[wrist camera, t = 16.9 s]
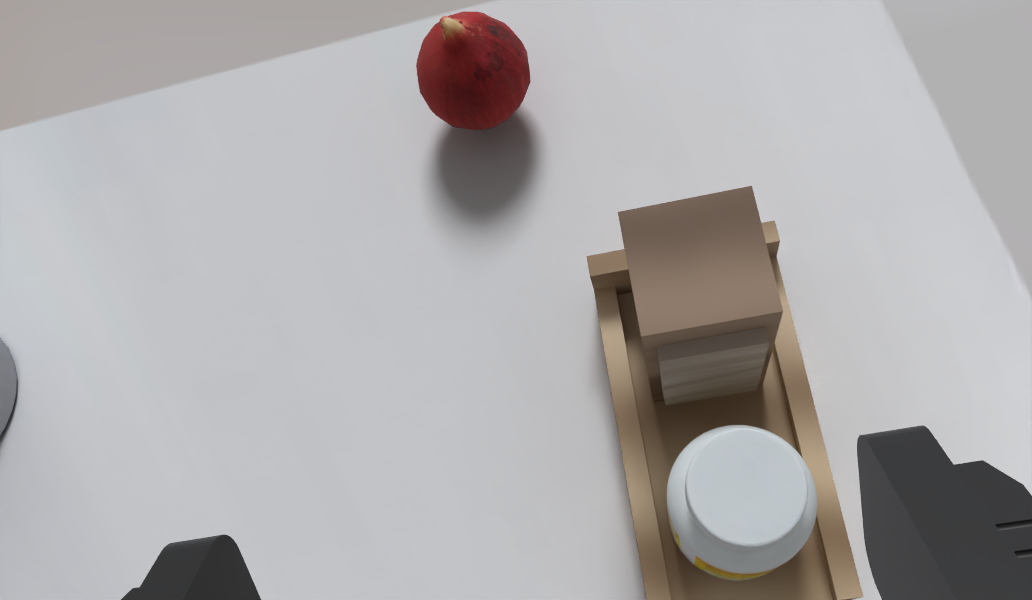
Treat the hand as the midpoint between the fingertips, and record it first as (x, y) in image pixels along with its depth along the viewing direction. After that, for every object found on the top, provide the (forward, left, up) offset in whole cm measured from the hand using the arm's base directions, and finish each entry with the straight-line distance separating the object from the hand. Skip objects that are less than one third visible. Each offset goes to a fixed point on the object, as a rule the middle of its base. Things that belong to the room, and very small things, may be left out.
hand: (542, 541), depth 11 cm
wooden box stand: (+8, +2, -31) cm, 32 cm away
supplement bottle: (+5, -1, -29) cm, 30 cm away
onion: (+16, +22, -31) cm, 41 cm away
